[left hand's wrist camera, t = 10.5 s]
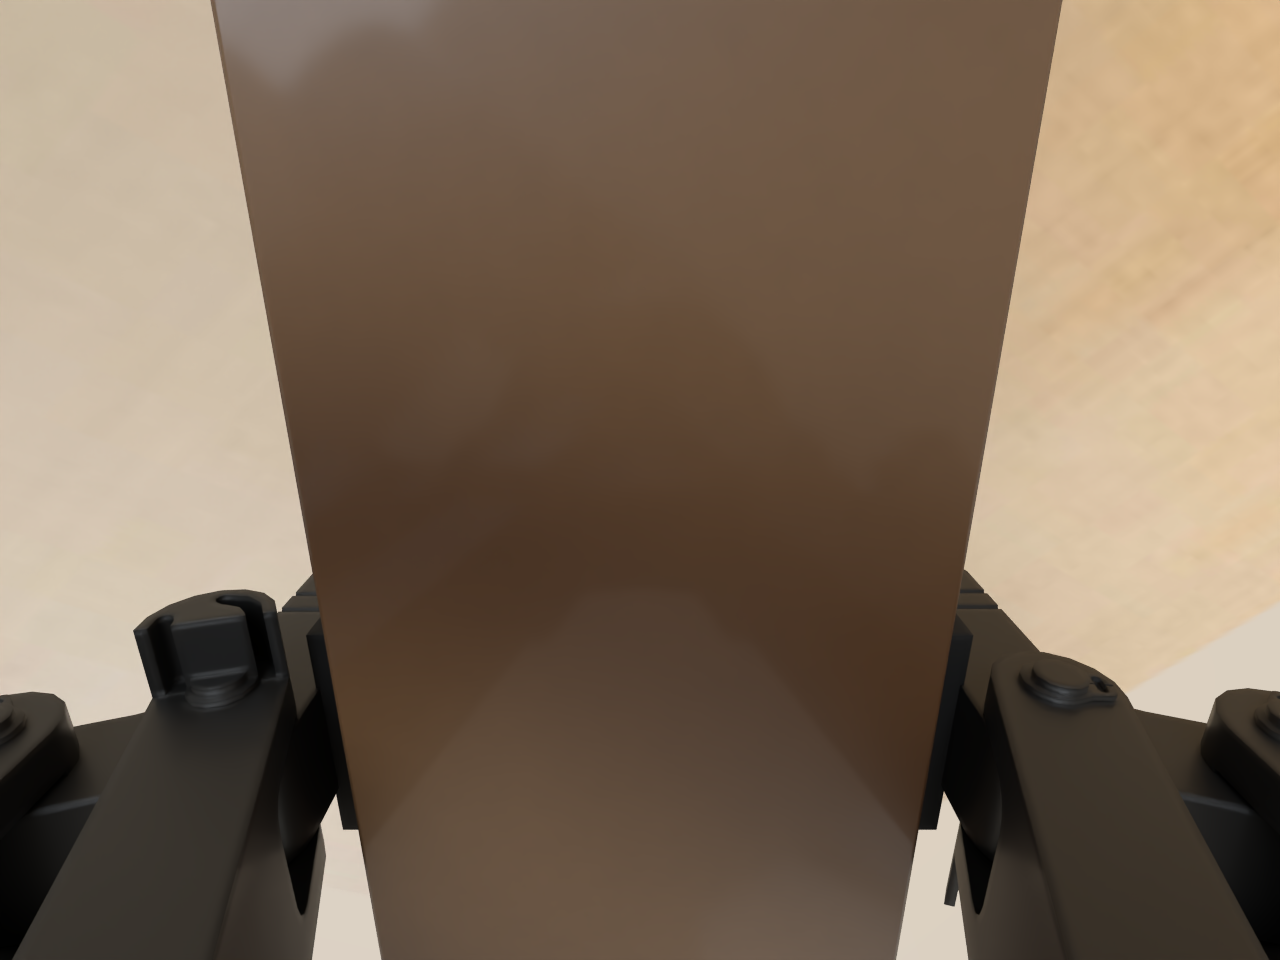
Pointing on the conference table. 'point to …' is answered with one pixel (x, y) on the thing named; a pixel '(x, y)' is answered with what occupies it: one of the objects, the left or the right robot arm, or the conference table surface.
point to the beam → (637, 440)
